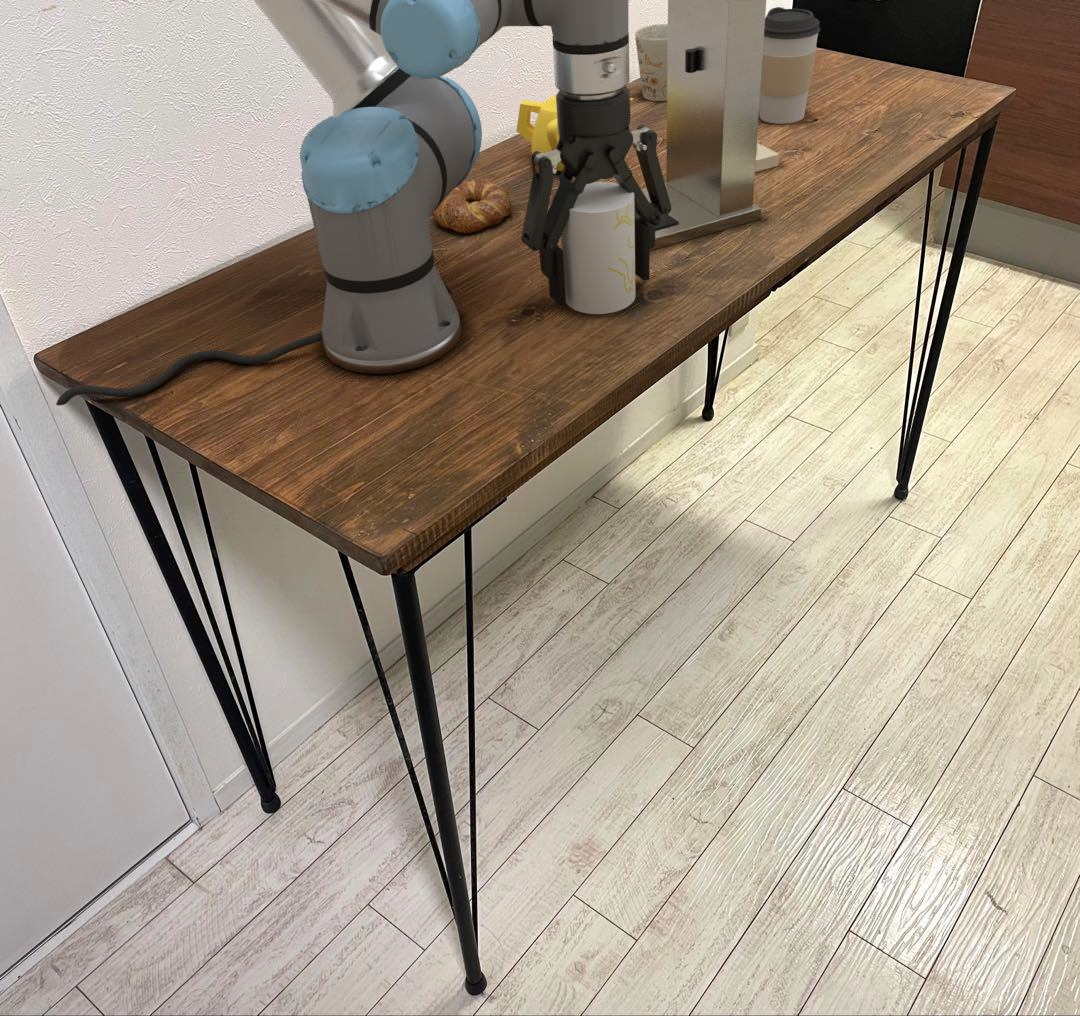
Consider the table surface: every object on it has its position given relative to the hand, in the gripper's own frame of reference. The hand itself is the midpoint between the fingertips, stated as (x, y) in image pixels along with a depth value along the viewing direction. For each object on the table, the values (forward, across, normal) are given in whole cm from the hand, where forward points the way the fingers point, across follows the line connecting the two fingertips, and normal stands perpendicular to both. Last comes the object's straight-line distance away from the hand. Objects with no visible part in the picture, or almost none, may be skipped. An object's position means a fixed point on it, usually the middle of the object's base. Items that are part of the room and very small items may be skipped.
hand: (599, 287), depth 117 cm
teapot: (+1, +17, +39) cm, 43 cm away
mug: (+1, +43, +55) cm, 70 cm away
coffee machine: (+1, +18, +14) cm, 23 cm away
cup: (+1, 0, 0) cm, 1 cm away
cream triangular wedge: (+1, +34, +24) cm, 42 cm away
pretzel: (+1, -4, +29) cm, 29 cm away
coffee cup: (+1, +51, +36) cm, 62 cm away
